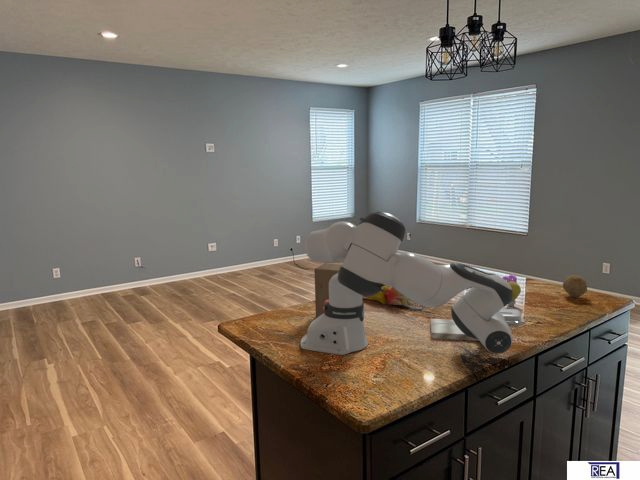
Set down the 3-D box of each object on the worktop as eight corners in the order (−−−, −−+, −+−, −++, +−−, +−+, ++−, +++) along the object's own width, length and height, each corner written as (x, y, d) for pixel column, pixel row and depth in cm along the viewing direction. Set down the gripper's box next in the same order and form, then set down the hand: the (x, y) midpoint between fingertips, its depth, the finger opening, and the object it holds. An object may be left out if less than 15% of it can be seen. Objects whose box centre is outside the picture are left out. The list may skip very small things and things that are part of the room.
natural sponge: (556, 295, 195) (558, 273, 193) (571, 293, 198) (572, 271, 197) (575, 301, 187) (577, 278, 185) (590, 298, 190) (592, 275, 188)
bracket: (516, 290, 205) (516, 275, 204) (508, 292, 203) (509, 277, 202) (492, 284, 217) (493, 270, 215) (484, 286, 214) (485, 271, 213)
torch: (364, 305, 201) (414, 308, 185) (354, 300, 196) (405, 304, 179) (368, 287, 204) (417, 289, 187) (358, 282, 198) (407, 284, 182)
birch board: (431, 338, 153) (431, 332, 152) (430, 323, 166) (430, 318, 166) (506, 342, 147) (506, 336, 147) (499, 326, 161) (499, 321, 161)
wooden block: (315, 318, 176) (313, 268, 172) (325, 310, 185) (324, 263, 181) (338, 321, 171) (337, 270, 168) (348, 313, 180) (347, 264, 177)
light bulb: (523, 306, 182) (525, 282, 180) (511, 308, 180) (512, 284, 178) (511, 302, 188) (512, 279, 187) (498, 304, 186) (499, 281, 184)
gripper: (527, 314, 134) (517, 300, 147) (455, 311, 138) (452, 298, 151) (526, 334, 135) (516, 318, 148) (455, 330, 139) (452, 316, 152)
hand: (483, 308), depth 150 cm, fingers closed on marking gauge, 3 cm apart
